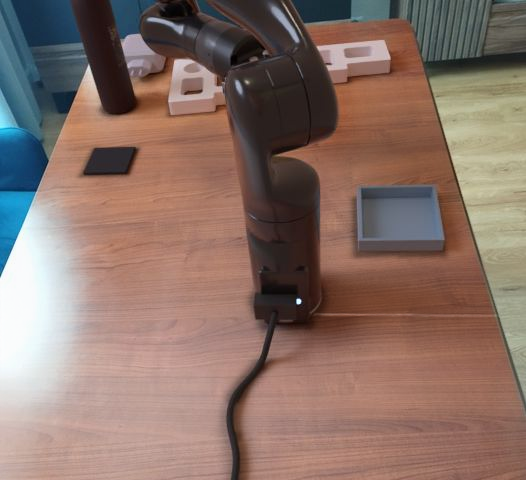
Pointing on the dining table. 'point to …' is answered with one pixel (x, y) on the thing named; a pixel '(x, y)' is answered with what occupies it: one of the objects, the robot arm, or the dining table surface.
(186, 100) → the holder
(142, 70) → the charger
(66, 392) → the dining table surface
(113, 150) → the coaster
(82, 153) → the dining table surface
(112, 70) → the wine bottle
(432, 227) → the tray
